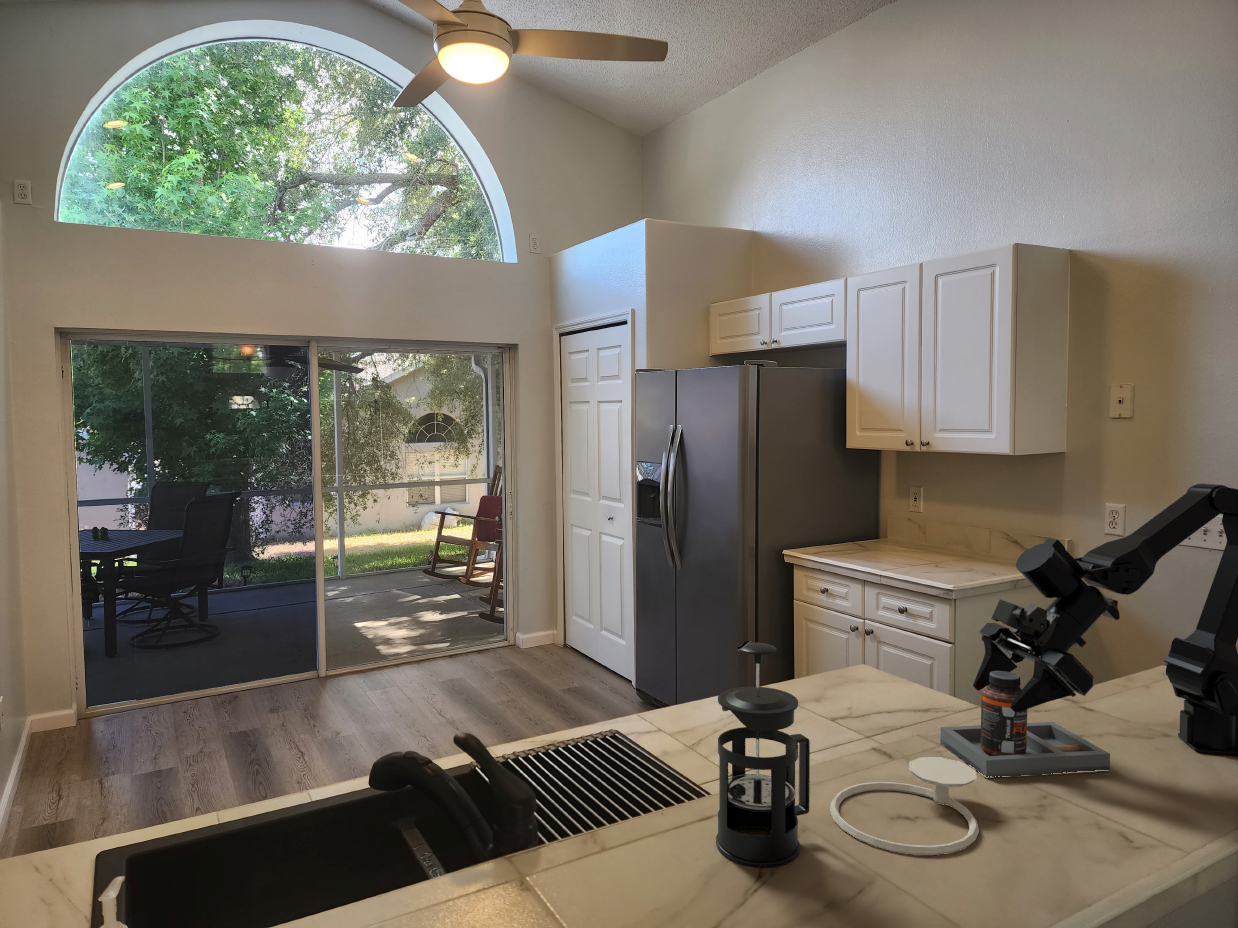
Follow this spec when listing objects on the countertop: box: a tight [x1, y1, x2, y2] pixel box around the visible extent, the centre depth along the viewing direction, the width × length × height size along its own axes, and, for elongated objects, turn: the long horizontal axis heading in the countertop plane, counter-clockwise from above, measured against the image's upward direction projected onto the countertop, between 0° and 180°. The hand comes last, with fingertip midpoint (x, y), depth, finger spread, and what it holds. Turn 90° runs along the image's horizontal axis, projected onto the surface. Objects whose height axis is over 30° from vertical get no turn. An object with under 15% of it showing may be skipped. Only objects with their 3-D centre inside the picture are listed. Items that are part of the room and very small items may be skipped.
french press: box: [715, 642, 811, 869], centre depth 89 cm, size 12×9×23 cm
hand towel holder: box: [829, 756, 980, 856], centre depth 96 cm, size 17×4×21 cm
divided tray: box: [939, 721, 1111, 777], centre depth 113 cm, size 18×12×2 cm, turn 96°
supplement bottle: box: [980, 671, 1028, 756], centre depth 112 cm, size 6×6×11 cm
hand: (993, 698), depth 112 cm, fingers open, 9 cm apart
